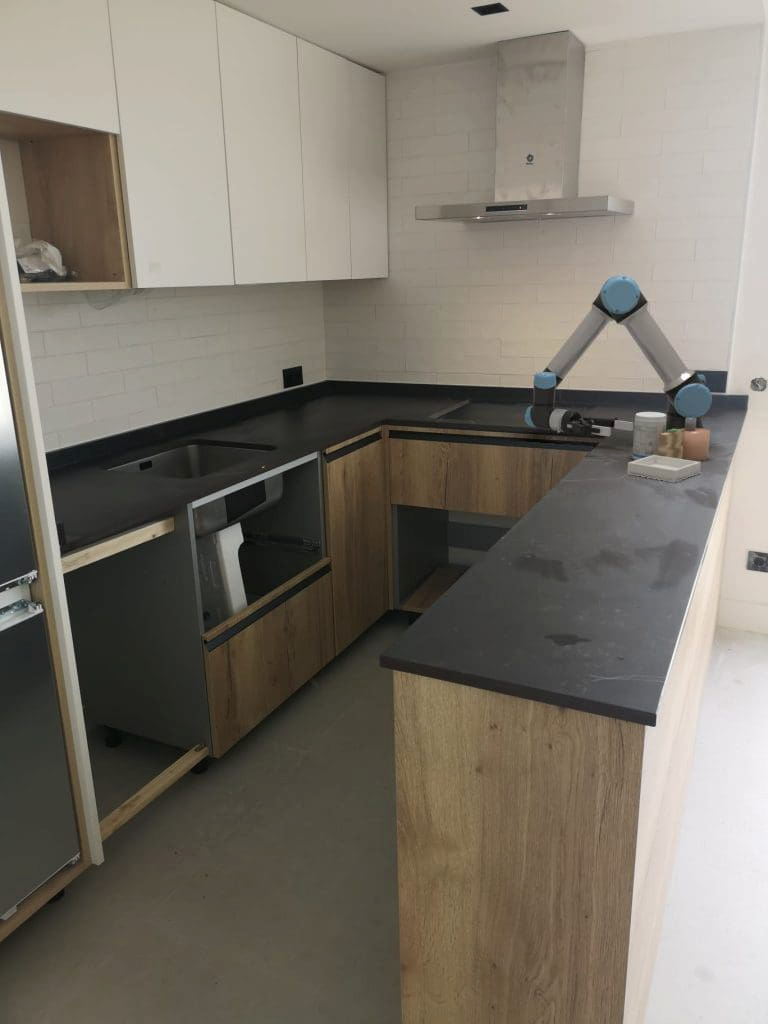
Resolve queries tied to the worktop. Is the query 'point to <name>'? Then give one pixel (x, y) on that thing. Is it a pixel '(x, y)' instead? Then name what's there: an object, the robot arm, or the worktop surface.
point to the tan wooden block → (671, 443)
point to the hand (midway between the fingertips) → (621, 429)
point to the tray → (664, 468)
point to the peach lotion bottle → (695, 441)
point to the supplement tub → (647, 433)
